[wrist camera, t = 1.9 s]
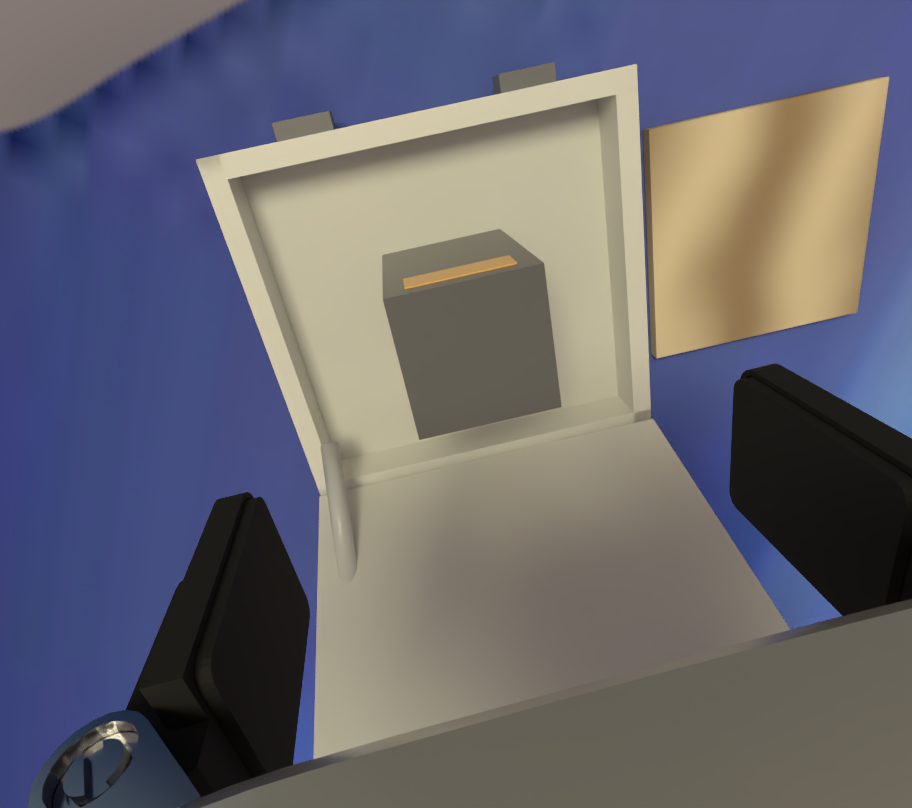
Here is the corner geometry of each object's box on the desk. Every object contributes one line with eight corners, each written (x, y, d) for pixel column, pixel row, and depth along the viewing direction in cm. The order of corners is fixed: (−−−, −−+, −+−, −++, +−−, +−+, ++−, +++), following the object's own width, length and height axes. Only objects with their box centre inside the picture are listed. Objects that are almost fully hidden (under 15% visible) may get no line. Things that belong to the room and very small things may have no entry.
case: (609, 53, 21) (948, -69, 9) (633, 458, 30) (824, 701, 17) (208, 140, 21) (-59, 146, 8) (346, 525, 29) (320, 826, 17)
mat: (877, 77, 23) (889, 76, 22) (847, 308, 27) (856, 312, 27) (642, 129, 23) (649, 129, 22) (651, 354, 27) (656, 358, 27)
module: (499, 227, 23) (544, 261, 17) (517, 341, 25) (561, 408, 19) (381, 253, 23) (382, 298, 17) (409, 365, 25) (419, 441, 19)
